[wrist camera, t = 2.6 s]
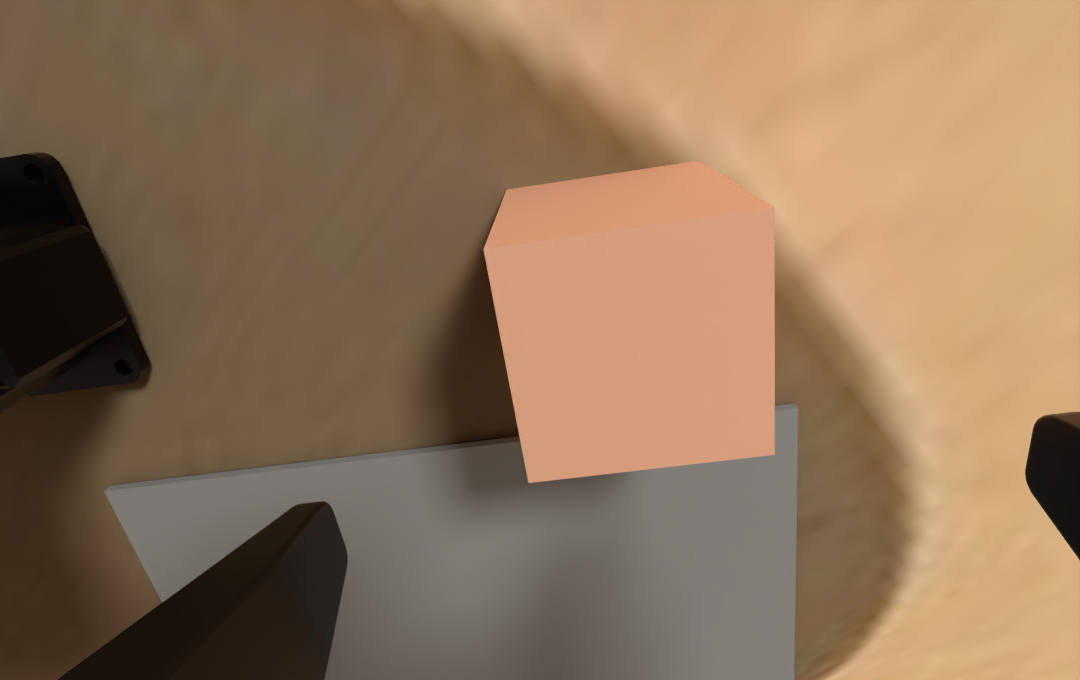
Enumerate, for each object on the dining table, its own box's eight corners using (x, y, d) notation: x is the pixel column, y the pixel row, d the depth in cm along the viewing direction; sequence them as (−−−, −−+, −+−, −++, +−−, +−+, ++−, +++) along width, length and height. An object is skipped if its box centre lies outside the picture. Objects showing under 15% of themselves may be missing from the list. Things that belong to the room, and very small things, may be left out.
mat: (267, 790, 27) (264, 797, 26) (109, 485, 20) (103, 491, 20) (790, 748, 25) (792, 756, 25) (794, 403, 19) (798, 408, 18)
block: (535, 359, 18) (528, 483, 13) (506, 189, 16) (483, 249, 11) (706, 337, 18) (775, 454, 12) (697, 160, 16) (774, 207, 10)
